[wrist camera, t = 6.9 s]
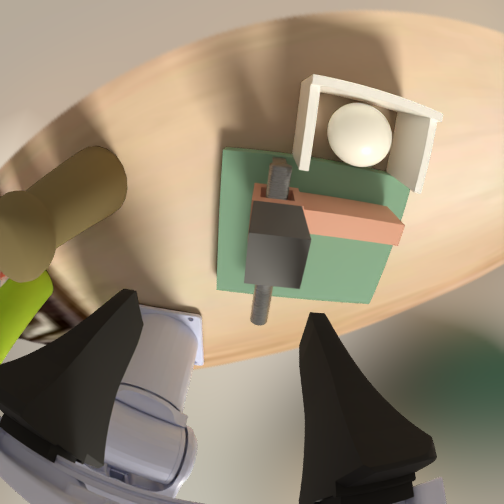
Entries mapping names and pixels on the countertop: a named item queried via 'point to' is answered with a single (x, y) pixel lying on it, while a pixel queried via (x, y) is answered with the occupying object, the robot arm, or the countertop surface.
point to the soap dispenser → (20, 307)
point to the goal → (408, 112)
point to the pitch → (322, 247)
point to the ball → (359, 134)
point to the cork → (58, 210)
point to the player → (307, 231)
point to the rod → (276, 190)
